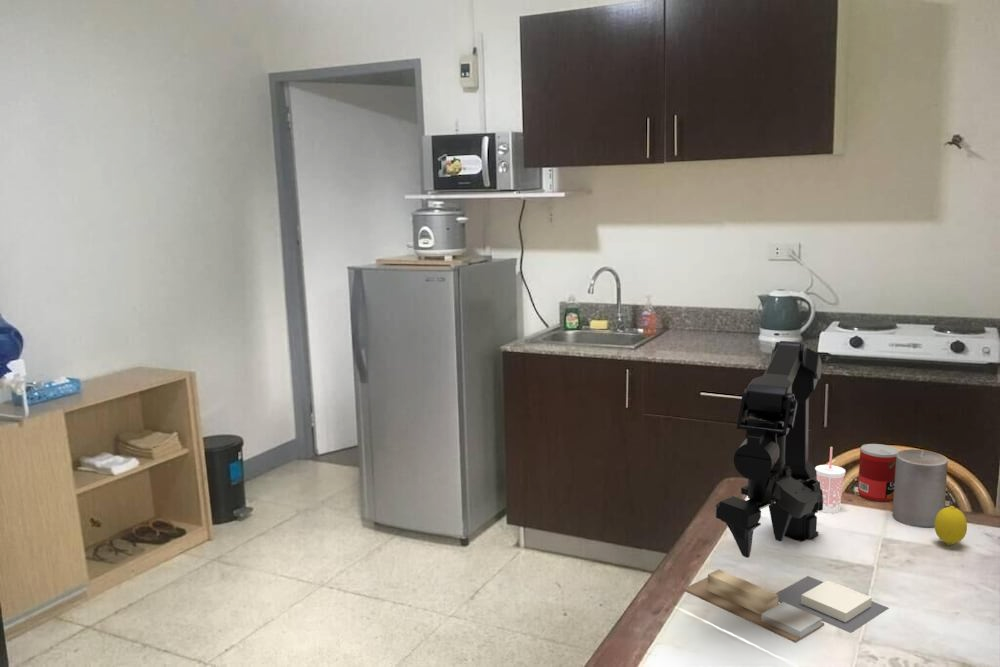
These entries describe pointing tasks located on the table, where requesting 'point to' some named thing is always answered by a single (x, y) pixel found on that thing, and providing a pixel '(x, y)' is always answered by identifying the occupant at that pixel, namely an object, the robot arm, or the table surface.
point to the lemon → (950, 525)
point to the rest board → (737, 608)
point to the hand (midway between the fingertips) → (762, 548)
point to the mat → (793, 598)
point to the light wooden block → (763, 604)
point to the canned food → (877, 472)
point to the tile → (836, 601)
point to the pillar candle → (919, 487)
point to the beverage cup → (830, 485)
